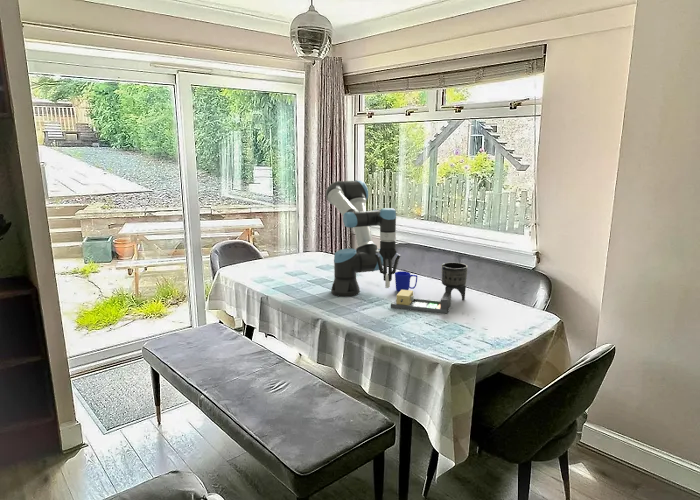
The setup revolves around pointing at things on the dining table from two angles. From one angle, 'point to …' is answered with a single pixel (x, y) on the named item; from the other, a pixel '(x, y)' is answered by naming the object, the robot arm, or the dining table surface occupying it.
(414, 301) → the tray
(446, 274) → the planter
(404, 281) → the mug
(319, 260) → the dining table surface
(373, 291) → the dining table surface
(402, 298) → the block
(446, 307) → the dark grey block
